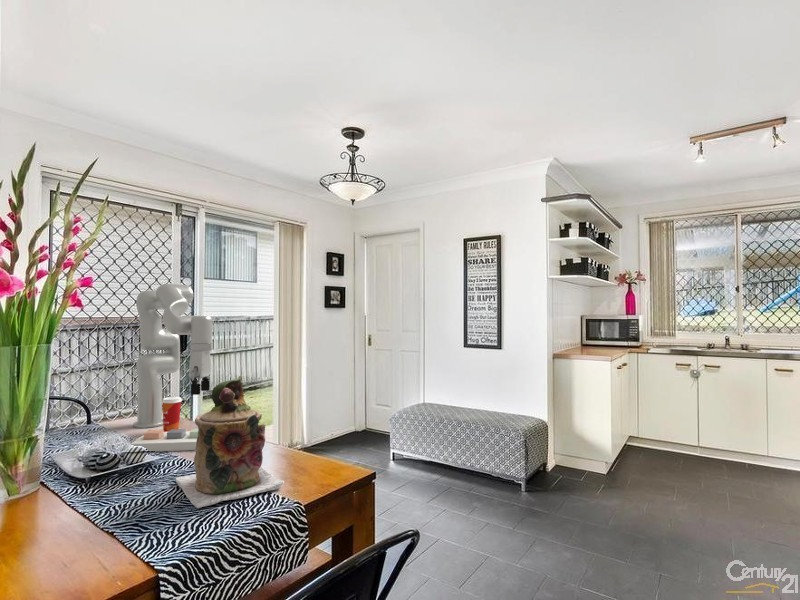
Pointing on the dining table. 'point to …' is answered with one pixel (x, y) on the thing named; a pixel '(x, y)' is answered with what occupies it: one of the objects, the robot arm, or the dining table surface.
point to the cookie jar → (228, 451)
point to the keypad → (167, 443)
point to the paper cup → (171, 413)
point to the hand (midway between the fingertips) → (200, 392)
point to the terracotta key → (153, 434)
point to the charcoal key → (176, 433)
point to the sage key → (194, 433)
